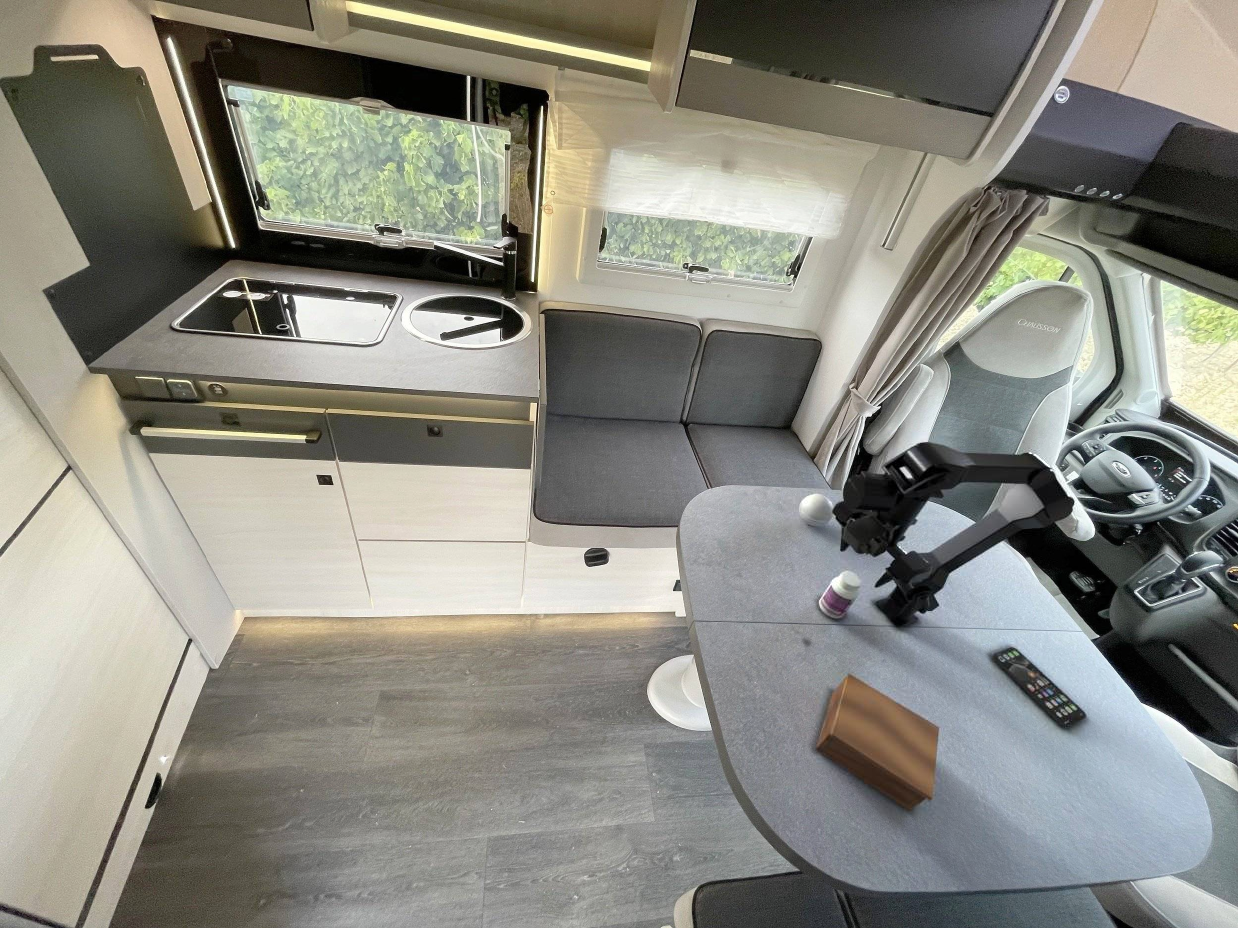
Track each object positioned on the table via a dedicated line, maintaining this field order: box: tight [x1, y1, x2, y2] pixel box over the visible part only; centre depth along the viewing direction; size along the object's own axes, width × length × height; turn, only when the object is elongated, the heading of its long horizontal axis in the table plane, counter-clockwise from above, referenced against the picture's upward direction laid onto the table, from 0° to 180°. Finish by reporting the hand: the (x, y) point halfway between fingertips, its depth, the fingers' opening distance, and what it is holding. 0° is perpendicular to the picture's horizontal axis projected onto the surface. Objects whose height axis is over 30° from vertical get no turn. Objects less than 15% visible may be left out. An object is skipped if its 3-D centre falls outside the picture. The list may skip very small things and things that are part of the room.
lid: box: [830, 673, 940, 802], centre depth 77 cm, size 12×15×1 cm
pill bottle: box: [818, 570, 862, 619], centre depth 101 cm, size 5×5×10 cm
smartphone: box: [991, 646, 1087, 728], centre depth 96 cm, size 7×1×15 cm
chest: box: [815, 675, 927, 811], centre depth 80 cm, size 12×15×6 cm
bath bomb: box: [798, 493, 834, 527], centre depth 123 cm, size 8×8×8 cm
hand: (858, 568), depth 96 cm, fingers open, 9 cm apart
